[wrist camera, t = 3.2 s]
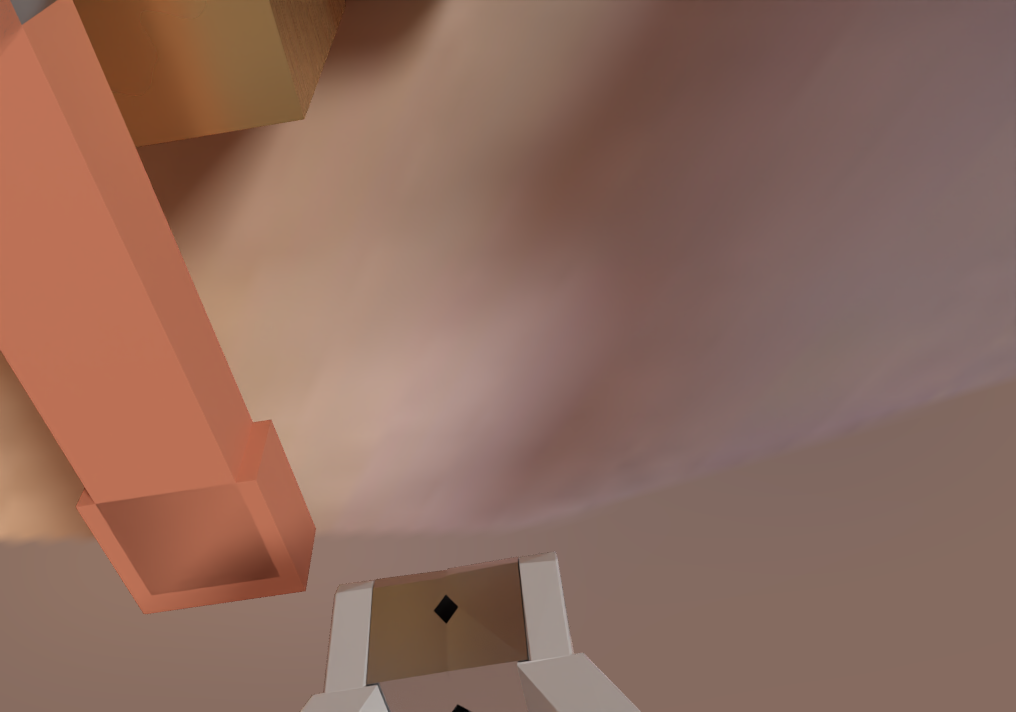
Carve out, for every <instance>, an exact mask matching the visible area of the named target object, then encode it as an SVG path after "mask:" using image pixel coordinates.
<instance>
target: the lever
mask: <svg viewBox="0 0 1016 712" xmlns="http://www.w3.org/2000/svg"><path fill="white" fill-rule="evenodd" d="M0 350H1V352H2V354H3V355H4V357H5V358H6V360H7V362H8V363H9V365H10V367H11V368H12V370H13V371H14V373H15V375H16V376H17V378H18V379H19V381H20V383H21V384H22V386H23V388H24V389H25V391H26V392H27V394H28V396H29V397H30V399H31V401H32V402H33V404H34V405H35V407H36V409H37V410H38V412H39V414H40V415H41V417H42V418H43V420H44V422H45V423H46V425H47V427H48V428H49V430H50V431H51V433H52V435H53V436H54V438H55V440H56V441H57V443H58V444H59V446H60V448H61V449H62V451H63V453H64V454H65V456H66V457H67V459H68V461H69V462H70V464H71V466H72V467H73V469H74V470H75V472H76V474H77V475H78V477H79V479H80V480H81V482H82V483H83V485H84V487H85V488H84V490H83V492H82V495H81V497H80V499H79V501H78V503H77V505H76V508H77V510H78V512H79V513H80V515H81V516H82V518H83V519H84V521H85V523H86V524H87V526H88V527H89V529H90V530H91V532H92V533H93V535H94V537H95V538H96V540H97V541H98V543H99V544H100V546H101V548H102V549H103V551H104V552H105V554H106V555H107V557H108V559H109V560H110V562H111V563H112V565H113V566H114V568H115V570H116V571H117V573H118V574H119V576H120V577H121V579H122V581H123V582H124V584H125V585H126V587H127V588H128V590H129V592H130V593H131V595H132V596H133V598H134V599H135V601H136V603H137V604H138V606H139V607H140V609H141V610H142V612H143V614H150V613H157V612H163V611H171V610H178V609H184V608H191V607H198V606H205V605H212V604H219V603H226V602H233V601H240V600H246V599H254V598H261V597H267V596H275V595H281V594H288V593H295V592H302V591H306V586H307V580H308V574H309V568H310V562H311V555H312V549H313V542H314V537H315V531H316V528H315V525H314V523H313V520H312V518H311V516H310V513H309V511H308V508H307V506H306V503H305V501H304V498H303V496H302V494H301V491H300V489H299V486H298V484H297V481H296V479H295V476H294V474H293V472H292V469H291V467H290V464H289V462H288V459H287V457H286V454H285V452H284V450H283V447H282V445H281V442H280V440H279V437H278V435H277V433H276V430H275V428H274V425H273V423H272V420H266V421H259V422H253V421H252V419H251V417H250V414H249V412H248V410H247V407H246V405H245V403H244V400H243V398H242V396H241V393H240V391H239V389H238V386H237V384H236V382H235V379H234V377H233V375H232V372H231V370H230V368H229V365H228V363H227V361H226V358H225V356H224V354H223V351H222V349H221V347H220V344H219V342H218V340H217V337H216V335H215V332H214V330H213V328H212V325H211V323H210V321H209V318H208V316H207V314H206V311H205V309H204V307H203V304H202V302H201V300H200V297H199V295H198V293H197V290H196V288H195V286H194V283H193V281H192V279H191V276H190V274H189V272H188V269H187V267H186V265H185V262H184V260H183V258H182V255H181V253H180V251H179V248H178V246H177V244H176V241H175V239H174V237H173V234H172V232H171V229H170V227H169V225H168V222H167V220H166V218H165V215H164V213H163V211H162V208H161V206H160V204H159V201H158V199H157V197H156V194H155V192H154V190H153V187H152V185H151V183H150V180H149V178H148V176H147V173H146V171H145V169H144V166H143V164H142V162H141V159H140V157H139V155H138V152H137V150H136V148H135V145H134V143H133V141H132V138H131V136H130V134H129V131H128V129H127V126H126V124H125V122H124V119H123V117H122V115H121V112H120V110H119V108H118V105H117V103H116V101H115V98H114V96H113V94H112V91H111V89H110V87H109V84H108V82H107V80H106V77H105V75H104V73H103V70H102V68H101V66H100V63H99V61H98V59H97V56H96V54H95V52H94V49H93V47H92V45H91V42H90V40H89V38H88V35H87V33H86V31H85V28H84V26H83V23H82V21H81V19H80V16H79V14H78V12H77V9H76V7H75V5H74V2H73V0H0Z"/></svg>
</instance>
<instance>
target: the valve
mask: <svg viewBox="0 0 1016 712" xmlns="http://www.w3.org/2000/svg"><path fill="white" fill-rule="evenodd" d="M73 2H74V5H75V7H76V9H77V12H78V14H79V16H80V19H81V21H82V23H83V26H84V28H85V31H86V33H87V35H88V38H89V40H90V42H91V45H92V47H93V49H94V52H95V54H96V56H97V59H98V61H99V63H100V66H101V68H102V70H103V73H104V75H105V77H106V80H107V82H108V84H109V87H110V89H111V91H112V94H113V96H114V98H115V101H116V103H117V105H118V108H119V110H120V112H121V115H122V117H123V119H124V122H125V124H126V126H127V129H128V131H129V134H130V136H131V138H132V141H133V143H134V145H135V147H141V146H147V145H153V144H159V143H165V142H171V141H177V140H183V139H189V138H195V137H201V136H207V135H213V134H219V133H225V132H231V131H237V130H243V129H249V128H255V127H261V126H267V125H273V124H279V123H285V122H291V121H297V120H303V119H305V116H306V113H307V111H308V108H309V105H310V102H311V100H312V97H313V94H314V91H315V89H316V86H317V83H318V80H319V78H320V75H321V72H322V69H323V67H324V64H325V61H326V58H327V56H328V53H329V50H330V47H331V45H332V42H333V39H334V37H335V34H336V31H337V28H338V26H339V23H340V20H341V17H342V15H343V12H344V9H345V6H346V5H345V1H344V0H73Z"/></svg>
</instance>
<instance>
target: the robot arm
mask: <svg viewBox="0 0 1016 712" xmlns="http://www.w3.org/2000/svg"><path fill="white" fill-rule="evenodd" d="M300 712H640V711H639V709H638V708H637V707H636V706H635V705H634V704H633V703H632V702H631V701H630V700H629V699H628V698H627V697H626V696H625V695H624V694H623V693H622V692H621V691H620V690H619V689H618V688H617V687H616V686H615V685H614V684H613V683H612V682H611V681H610V680H609V679H608V678H607V677H606V676H605V674H603V672H602V671H600V670H599V668H598V667H596V665H595V664H594V663H593V662H592V661H591V660H590V659H589V658H588V657H587V656H586V655H585V654H584V653H579V654H574V653H573V646H572V640H571V634H570V628H569V622H568V616H567V611H566V605H565V599H564V593H563V587H562V581H561V575H560V571H559V564H558V558H557V555H556V552H555V551H553V552H547V553H541V554H535V555H528V556H522V557H513V558H507V559H501V560H496V561H489V562H483V563H478V564H472V565H466V566H460V567H454V568H448V569H447V570H443V571H435V572H428V573H420V574H412V575H405V576H397V577H390V578H382V579H376V580H369V581H362V582H356V583H348V584H341V585H339V586H338V589H337V591H336V593H335V596H334V603H333V611H332V620H331V629H330V638H329V646H328V655H327V664H326V673H325V681H324V691H323V693H319V694H314V695H312V696H311V697H310V699H309V700H308V701H307V703H306V704H305V705H304V707H303V708H302V709H301V711H300Z"/></svg>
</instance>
